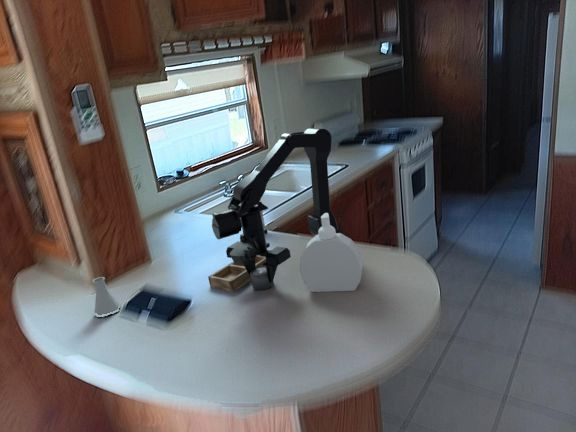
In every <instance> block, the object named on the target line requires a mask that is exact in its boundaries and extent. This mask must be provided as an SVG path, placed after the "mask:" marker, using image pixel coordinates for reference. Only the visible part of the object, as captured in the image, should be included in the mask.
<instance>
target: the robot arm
mask: <svg viewBox="0 0 576 432" xmlns="http://www.w3.org/2000/svg"><path fill="white" fill-rule="evenodd" d="M332 137H333V136H332V134H331V132H330V131H329V130H328V129H326V128H320V127H309V128H307V129H306V130H304V131H297V132H285V133H283V134H281V136H280V137H279V139H278V141H277V142H276V143H275V144H274V145H273V147H271V150H270V151H269V152H268V153H267V154H266V156H265V157H264V158H263V160H262V161H261V162H260V163H259V164H258V165H257V167H256V168H255V169H254V170H253V171H252V172H251V173H250V174H248V175H246V176H245V177H243V178H242V179H241V180H240V181H239V182H238V183H236V184H235V185H234V187H233V190H232V197H231V199H230V202H229V204H228V205H227V206H228V207H227V210H224V211H220V212H214V213H212V215H211V216H212V219H211V227H212V232H213V234H214V237H215V239H217V240H221V239H225V238H228V237H231V236H234V235H237V234H239V233H240V232H242V233H241V234H240V235H239V236H240V237H239V241H236V242H234V243H232V244H230V246H227V248H226V251H225V254H226V257H227V258H230V259H232V262H233V261H234V263H235V264H242V265H244V267H245V268H246V270H247V272H248V273H249V275H250V273H251V271H253V270H254V269H256V267H255V257H256V256H261V257H266V262H265V263H263V264H262V265H263V266H265V267H266V270H267V275H268V280H269V283H272V282H274V279H275V276H276V273H277V269H278V267H279V266H280V265H281V264H282V263H284V262H286V261H287V260H289V259H290V258H291V257H292V255H291V250H290V249H289V248H288V247H285V246H284V247H282V246H275V247H273V248H272V249H270V250H269V249H268V248H270V247H271V245H270V244H271V243H270V242H267V239H266V234H268V229H267V228H265V229H264V227H263V221H262V216H261V211H262V212H263V211H266V210H269V207H268V206H267V205H265V204H264V203H262V197H263V195H264V194H265V192H266V188H267V185H268V183H269V181H270V180H271V179H272V178H273V176H274V175H275V173H276V172H277V171H278V170H279V169H280V167H281V166H282V165H283V164H284V163H285V161H286V160H287V159H288V158H289V156H290V155H291V154H292V153H293V151H294V150H295V149H297V148H298V149H299V148H303V149H304V152H305V154H306V156H307V158H308V160H309V164H310V165H309V166H310V178H311V180H310V181H311V191H312V204H313V205H312V206H313V211H312V213H311V214H310V215H309V214H308V215H307V217H306V218H307V223H308V226H307V229H308V230H309V232H310V234H312V236H313V237H315V236H316V235H318V230H319V229H320V228H321V227H322V222H321V216H322V215H323V214H324V213H328V214H329V221H330V225H331V226H333V227H334V228H335V231H336V233H341V234H343V235H345V236H346V237H347V235H346V234H345V233H343V232H342V231H340V230H339V228H338V223H337V220H336V217H335V215H334V213H333V211H332V209H331V198H330V197H331V196H330V182H329V171H328V167H329V166H328V159H329V156H330V153H331V152H332V143H333V142H332V141H333V140H332V139H333V138H332ZM260 200H261V202H260ZM250 277H251V276H250Z"/></svg>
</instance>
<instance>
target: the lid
mask: <svg viewBox="0 0 576 432" xmlns="http://www.w3.org/2000/svg"><path fill="white" fill-rule="evenodd" d="M250 276H251V280H250V281H251V285H252V288H253V289H254V290H257V291H263V290H268V289H270V288H271V287H273V286H274V284H275V282H274V281H273V282H272V283H269V280H268V275H267V270H266V267H262V268H257V269H254V270H253V271H251V273H250Z"/></svg>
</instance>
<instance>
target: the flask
mask: <svg viewBox="0 0 576 432" xmlns="http://www.w3.org/2000/svg"><path fill="white" fill-rule="evenodd" d="M105 280H106V278H105V277H104V276H99V277H97V278H93V280H91V281H92V283H93V285H94V287H95V302H94V303H95V306H94V312H95V313H97V314H98V315H102V314H107V313H110V312H113V311H115V310H117V309H118V307H119V304H120V303H119V302H118V301H117V299H116V297H114V295H113V294H112V293H111V292H110V290H109V288H108V287H107V285H106V282H105Z"/></svg>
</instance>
